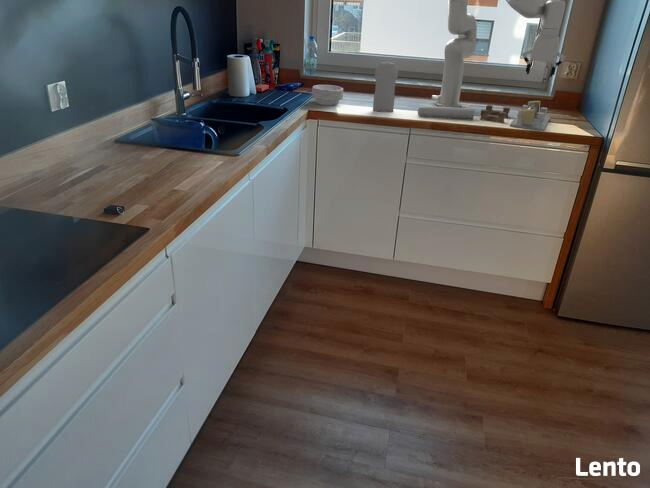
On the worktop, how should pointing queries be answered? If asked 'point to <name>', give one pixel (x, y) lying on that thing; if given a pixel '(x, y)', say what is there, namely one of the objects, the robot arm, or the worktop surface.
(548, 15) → the robot arm
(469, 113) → the tube
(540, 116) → the v block stand
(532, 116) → the tan square beam
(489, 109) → the beam saddles
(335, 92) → the paper bowls
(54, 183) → the worktop surface
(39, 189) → the worktop surface
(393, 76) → the tall pale column
